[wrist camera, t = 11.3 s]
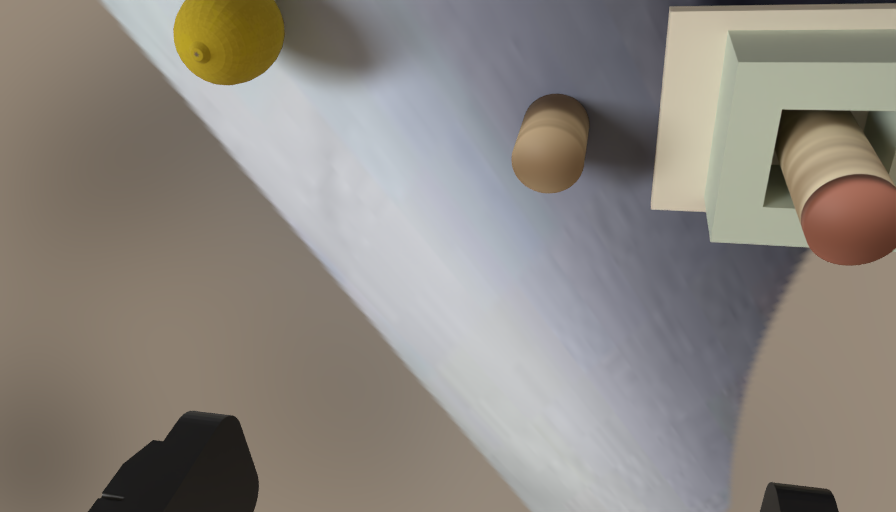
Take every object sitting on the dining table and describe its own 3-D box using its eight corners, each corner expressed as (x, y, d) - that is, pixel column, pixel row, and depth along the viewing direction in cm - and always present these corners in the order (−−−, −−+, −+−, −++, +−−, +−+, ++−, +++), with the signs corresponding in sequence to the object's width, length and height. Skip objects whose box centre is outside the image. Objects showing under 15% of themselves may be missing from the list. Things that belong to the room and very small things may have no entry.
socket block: (669, 6, 38) (673, 41, 34) (1011, 1, 35) (1070, 39, 30) (650, 201, 45) (651, 253, 40) (936, 213, 42) (975, 272, 37)
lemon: (321, 17, 43) (265, 61, 37) (269, 74, 46) (209, 124, 40) (252, -57, 42) (181, -24, 35) (202, 7, 44) (128, 48, 38)
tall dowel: (774, 86, 39) (815, 183, 30) (856, 86, 38) (923, 187, 29) (762, 153, 41) (796, 262, 32) (839, 155, 40) (896, 268, 31)
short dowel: (522, 93, 43) (510, 127, 39) (590, 94, 42) (585, 128, 38) (523, 153, 45) (512, 191, 41) (588, 155, 44) (582, 194, 40)
